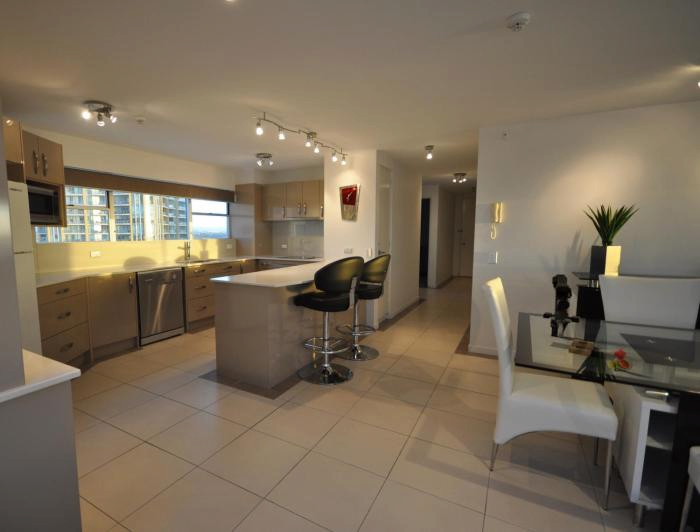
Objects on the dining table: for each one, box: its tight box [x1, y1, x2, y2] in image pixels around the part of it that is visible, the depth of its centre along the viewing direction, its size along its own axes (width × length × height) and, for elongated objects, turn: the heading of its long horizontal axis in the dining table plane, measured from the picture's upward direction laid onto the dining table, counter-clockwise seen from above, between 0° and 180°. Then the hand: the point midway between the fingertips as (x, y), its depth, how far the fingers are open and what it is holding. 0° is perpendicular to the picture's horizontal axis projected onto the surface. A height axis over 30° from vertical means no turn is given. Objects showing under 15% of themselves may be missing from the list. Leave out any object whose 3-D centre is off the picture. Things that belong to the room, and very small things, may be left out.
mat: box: [549, 341, 571, 350], centre depth 205 cm, size 9×10×1 cm
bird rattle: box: [608, 348, 634, 372], centre depth 168 cm, size 6×11×9 cm
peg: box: [557, 320, 565, 338], centre depth 204 cm, size 3×3×10 cm
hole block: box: [568, 338, 595, 357], centre depth 198 cm, size 10×20×3 cm, turn 138°
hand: (560, 331), depth 204 cm, fingers closed on peg, 3 cm apart
